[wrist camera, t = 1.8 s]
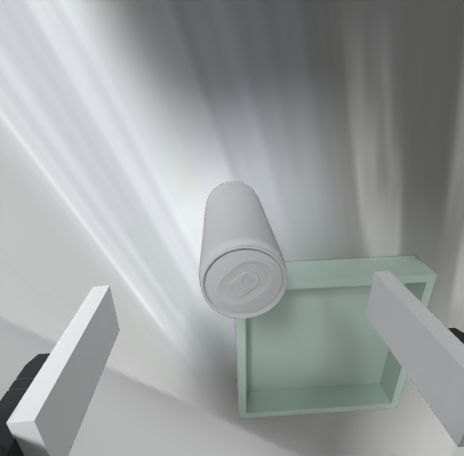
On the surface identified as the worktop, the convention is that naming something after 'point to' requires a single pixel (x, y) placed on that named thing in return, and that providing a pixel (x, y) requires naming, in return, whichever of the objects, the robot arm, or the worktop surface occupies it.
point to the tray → (323, 341)
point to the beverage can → (239, 254)
